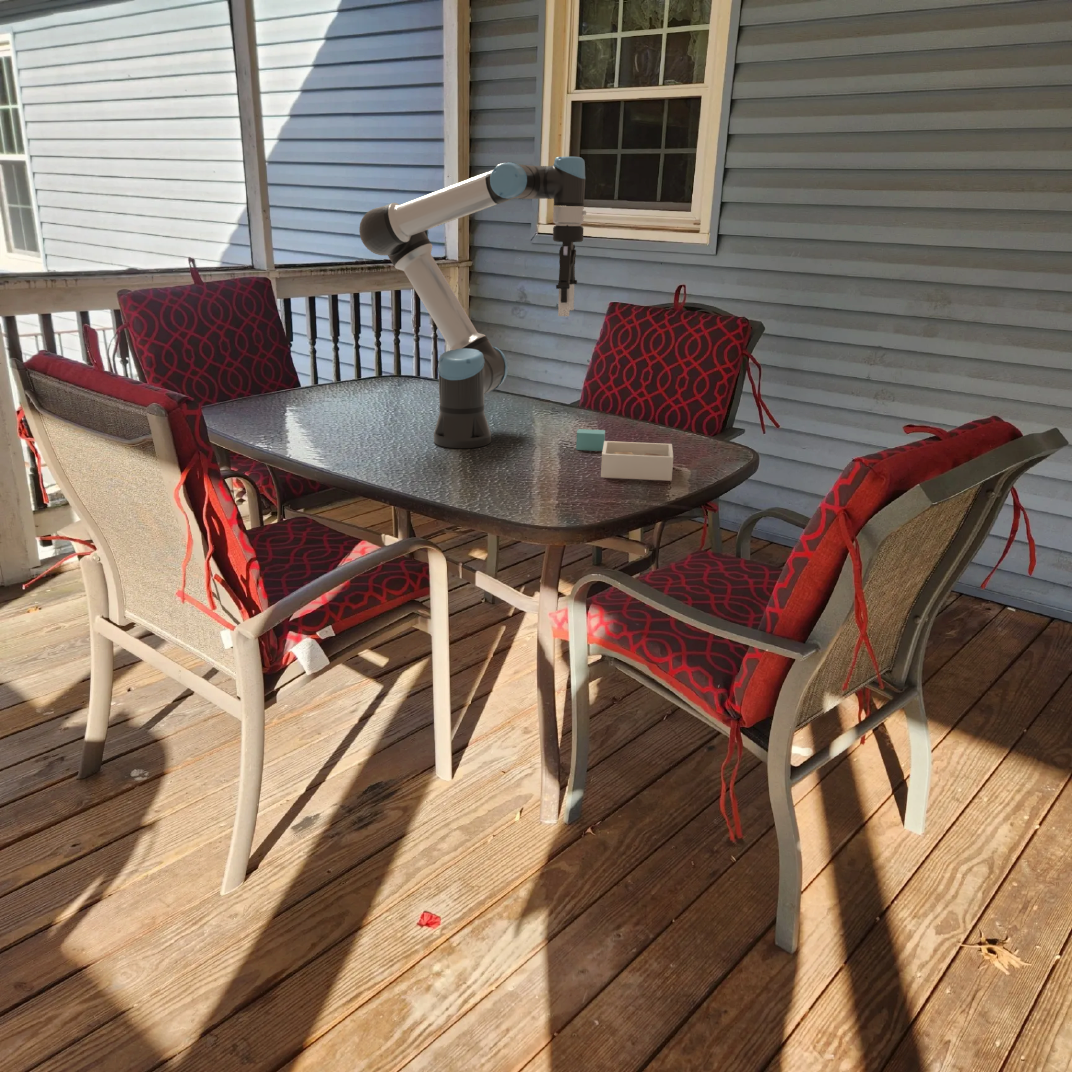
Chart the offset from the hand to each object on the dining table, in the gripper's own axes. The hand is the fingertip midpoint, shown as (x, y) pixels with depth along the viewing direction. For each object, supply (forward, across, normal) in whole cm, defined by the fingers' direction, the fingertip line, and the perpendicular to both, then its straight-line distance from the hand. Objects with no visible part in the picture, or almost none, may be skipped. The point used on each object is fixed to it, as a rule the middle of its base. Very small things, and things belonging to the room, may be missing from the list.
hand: (566, 313), depth 219 cm
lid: (+33, -12, -17) cm, 39 cm away
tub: (+33, -31, -20) cm, 49 cm away
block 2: (+32, -32, -24) cm, 51 cm away
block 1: (+32, -31, -17) cm, 48 cm away
